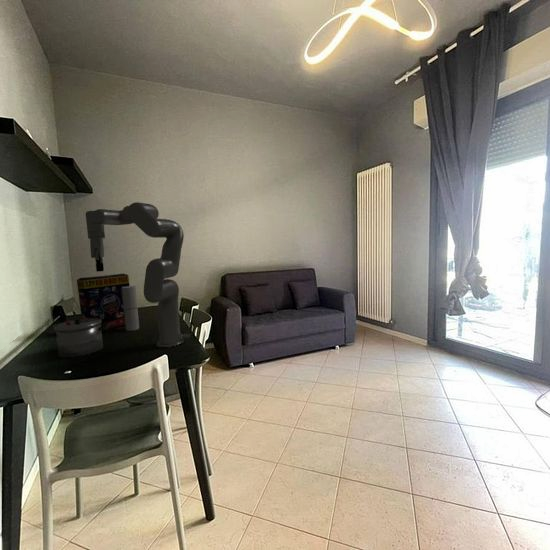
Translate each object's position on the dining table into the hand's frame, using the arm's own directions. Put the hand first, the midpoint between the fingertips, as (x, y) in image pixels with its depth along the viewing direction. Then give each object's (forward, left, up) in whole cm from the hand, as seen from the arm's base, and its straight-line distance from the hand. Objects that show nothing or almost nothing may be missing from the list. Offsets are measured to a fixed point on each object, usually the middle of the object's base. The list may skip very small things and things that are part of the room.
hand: (100, 271), depth 159 cm
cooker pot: (+9, +15, -36) cm, 40 cm away
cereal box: (+3, -27, -36) cm, 46 cm away
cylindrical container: (-11, -15, -36) cm, 41 cm away
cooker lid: (+9, +15, -24) cm, 30 cm away
